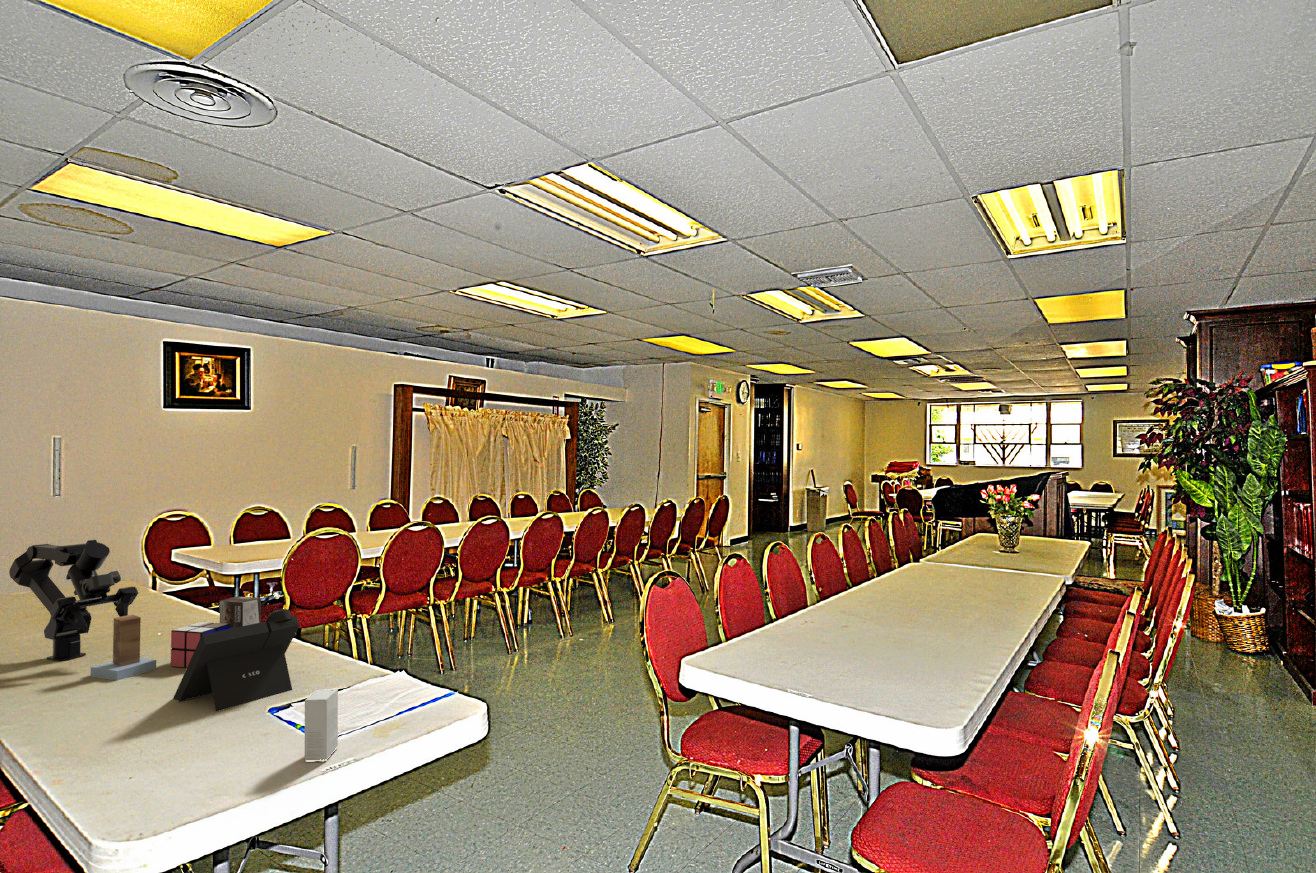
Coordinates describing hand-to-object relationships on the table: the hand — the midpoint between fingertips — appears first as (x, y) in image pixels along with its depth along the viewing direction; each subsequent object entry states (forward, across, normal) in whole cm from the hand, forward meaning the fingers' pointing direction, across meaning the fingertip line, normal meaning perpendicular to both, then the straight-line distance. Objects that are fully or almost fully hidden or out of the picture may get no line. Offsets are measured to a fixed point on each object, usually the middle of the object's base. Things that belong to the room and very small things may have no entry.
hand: (106, 626), depth 191 cm
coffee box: (+22, +24, -6) cm, 33 cm away
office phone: (+40, +9, -24) cm, 48 cm away
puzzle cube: (+20, +14, -4) cm, 25 cm away
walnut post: (+12, 0, 0) cm, 12 cm away
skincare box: (+77, -9, -63) cm, 100 cm away
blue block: (+14, 0, +2) cm, 15 cm away
